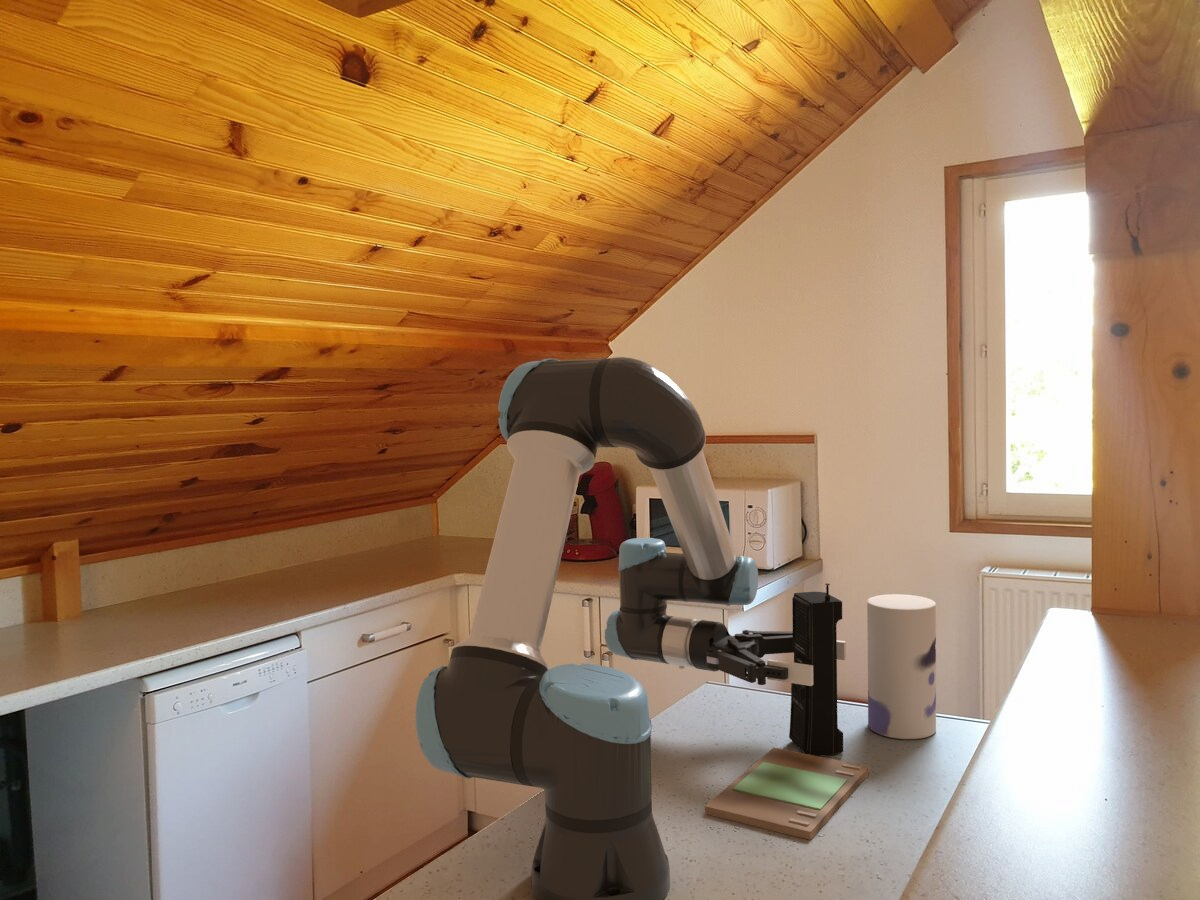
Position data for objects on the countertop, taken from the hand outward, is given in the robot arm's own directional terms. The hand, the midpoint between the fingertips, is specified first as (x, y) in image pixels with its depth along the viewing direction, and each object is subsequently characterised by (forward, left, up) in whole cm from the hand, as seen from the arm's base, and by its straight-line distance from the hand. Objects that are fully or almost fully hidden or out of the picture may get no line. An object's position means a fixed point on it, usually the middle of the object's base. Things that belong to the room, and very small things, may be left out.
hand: (829, 662), depth 140 cm
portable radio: (+1, +3, -14) cm, 14 cm away
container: (+15, -6, -14) cm, 21 cm away
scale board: (-15, 0, -13) cm, 20 cm away
